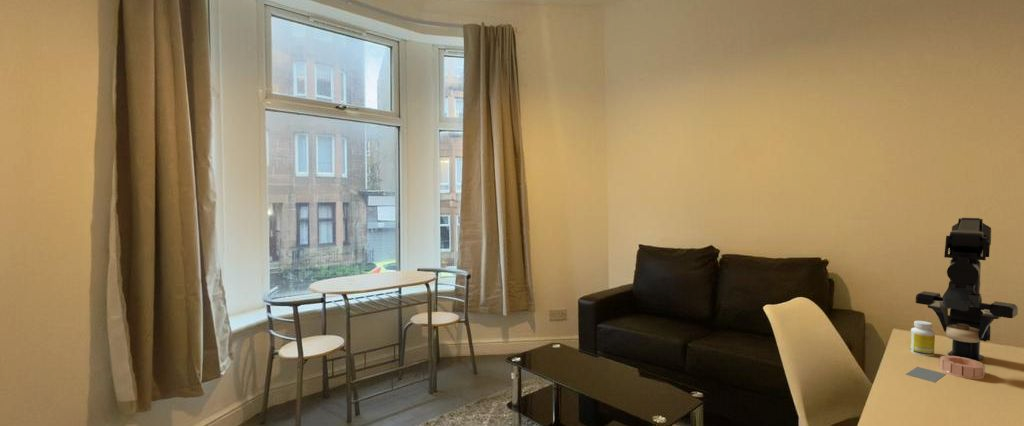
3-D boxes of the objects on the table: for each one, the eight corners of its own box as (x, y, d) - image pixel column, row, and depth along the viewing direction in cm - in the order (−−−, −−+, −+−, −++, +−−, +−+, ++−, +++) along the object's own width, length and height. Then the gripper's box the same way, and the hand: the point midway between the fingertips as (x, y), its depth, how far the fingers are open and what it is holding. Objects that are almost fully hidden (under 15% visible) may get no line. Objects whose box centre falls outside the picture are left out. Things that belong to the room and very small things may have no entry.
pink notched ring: (945, 365, 127) (946, 353, 126) (988, 375, 119) (988, 362, 119) (935, 372, 122) (936, 359, 122) (978, 383, 115) (979, 370, 115)
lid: (950, 333, 125) (950, 319, 124) (982, 339, 119) (983, 325, 119) (942, 337, 121) (943, 324, 121) (975, 344, 116) (976, 330, 116)
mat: (917, 368, 125) (917, 366, 125) (946, 375, 120) (946, 373, 120) (905, 375, 121) (905, 374, 121) (934, 383, 115) (934, 382, 115)
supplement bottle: (938, 357, 132) (939, 325, 132) (917, 356, 133) (918, 324, 133) (925, 351, 138) (926, 320, 137) (905, 350, 139) (906, 319, 138)
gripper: (908, 276, 123) (907, 331, 124) (1008, 288, 107) (1005, 351, 108) (923, 271, 129) (921, 324, 130) (1019, 282, 113) (1016, 342, 114)
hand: (962, 334), depth 120 cm, fingers closed on lid, 6 cm apart
